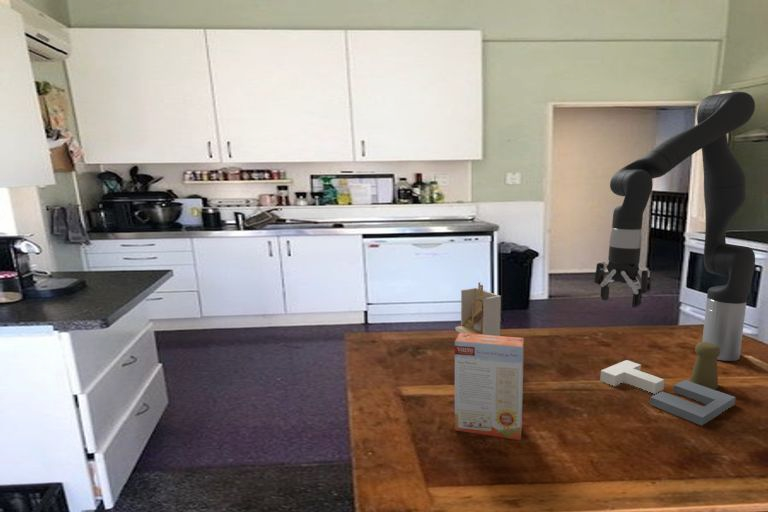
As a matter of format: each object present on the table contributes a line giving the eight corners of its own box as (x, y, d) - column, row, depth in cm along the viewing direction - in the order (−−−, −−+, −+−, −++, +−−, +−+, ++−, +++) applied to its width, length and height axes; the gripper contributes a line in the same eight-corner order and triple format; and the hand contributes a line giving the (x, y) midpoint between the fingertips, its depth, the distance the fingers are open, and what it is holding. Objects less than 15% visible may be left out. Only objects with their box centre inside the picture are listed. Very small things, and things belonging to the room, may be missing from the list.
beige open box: (474, 355, 139) (475, 275, 135) (499, 369, 129) (501, 283, 125) (453, 360, 136) (453, 278, 132) (477, 375, 126) (478, 286, 121)
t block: (600, 380, 120) (600, 370, 119) (625, 369, 126) (626, 359, 126) (645, 399, 110) (646, 387, 109) (671, 386, 116) (672, 375, 115)
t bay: (649, 404, 107) (650, 397, 107) (683, 387, 115) (684, 379, 115) (701, 425, 98) (702, 417, 98) (734, 404, 106) (735, 397, 106)
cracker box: (521, 426, 99) (525, 336, 95) (520, 442, 94) (524, 347, 90) (458, 417, 104) (459, 330, 100) (453, 431, 98) (454, 340, 94)
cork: (723, 390, 113) (727, 348, 111) (696, 388, 114) (700, 347, 113) (711, 379, 119) (715, 340, 117) (685, 378, 120) (689, 338, 118)
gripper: (660, 247, 117) (653, 307, 120) (607, 240, 129) (603, 295, 132) (644, 249, 113) (638, 312, 116) (592, 243, 125) (587, 299, 128)
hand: (619, 303), depth 124 cm, fingers open, 8 cm apart
